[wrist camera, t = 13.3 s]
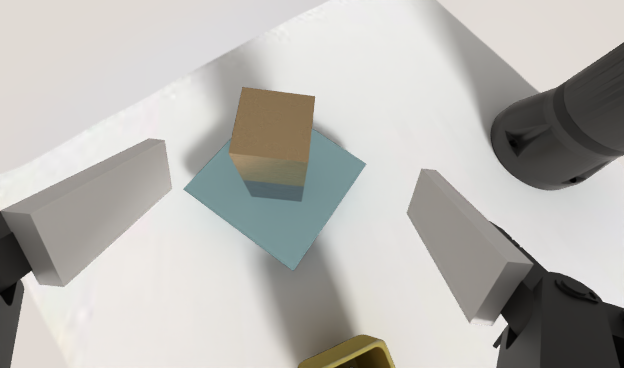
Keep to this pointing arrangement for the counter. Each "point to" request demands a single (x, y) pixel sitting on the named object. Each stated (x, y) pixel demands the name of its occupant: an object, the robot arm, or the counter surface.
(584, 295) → the robot arm
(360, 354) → the flower pot
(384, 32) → the counter surface
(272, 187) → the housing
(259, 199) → the teal stand
